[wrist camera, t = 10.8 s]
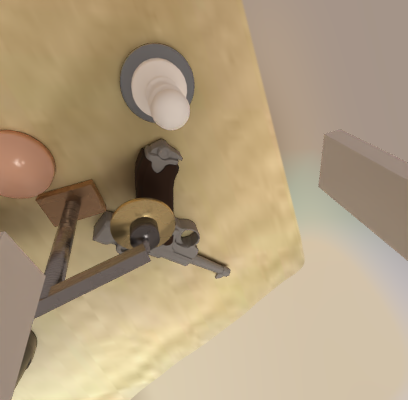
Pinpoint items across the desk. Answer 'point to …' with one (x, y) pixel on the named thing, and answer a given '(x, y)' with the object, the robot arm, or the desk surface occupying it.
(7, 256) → the robot arm
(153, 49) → the dish slate
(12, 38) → the desk surface
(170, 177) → the handgun
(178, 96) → the chess pawn
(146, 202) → the balance
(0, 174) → the pink disc
